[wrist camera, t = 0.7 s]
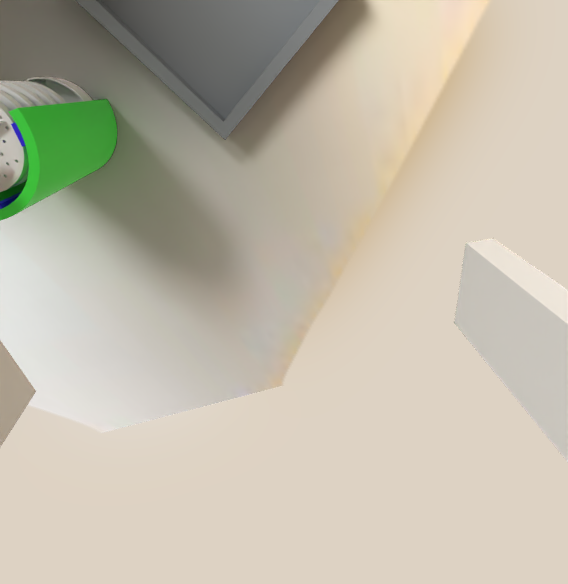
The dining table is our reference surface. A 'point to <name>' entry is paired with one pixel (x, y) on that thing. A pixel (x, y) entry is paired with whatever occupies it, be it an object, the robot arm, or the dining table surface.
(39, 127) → the green-shelled ribbed roller
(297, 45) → the tray
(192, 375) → the dining table surface
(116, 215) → the dining table surface
